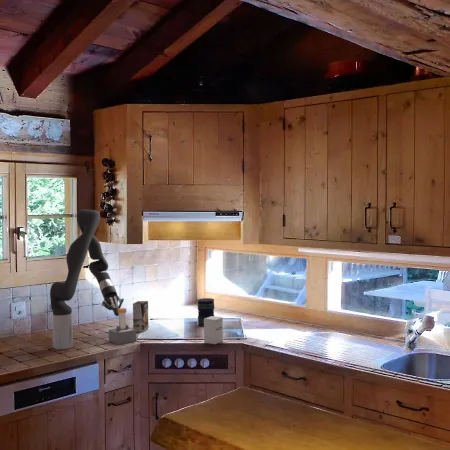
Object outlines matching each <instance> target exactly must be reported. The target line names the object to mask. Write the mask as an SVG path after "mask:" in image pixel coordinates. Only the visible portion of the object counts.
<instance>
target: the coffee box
mask: <svg viewBox="0 0 450 450" xmlns="http://www.w3.org/2000/svg"><path fill="white" fill-rule="evenodd" d="M149 325H150V324H149V301H148V300H140V301H139V300H137V301H136V302H133V303H132V329H135V330H136V333H144V332H146V331H147V330H149V329H148V328H149ZM145 330H146V331H145Z"/></svg>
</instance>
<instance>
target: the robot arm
mask: <svg viewBox="0 0 450 450" xmlns="http://www.w3.org/2000/svg"><path fill="white" fill-rule="evenodd" d="M100 214H101V213H100V212H99V211H98V210H95V209H85V208H84V209H83V208H82V209H80V210H79V211H77V215H76V221H77V224H78V227H79V229H80V231H81V235H80V236H78V237H77V238H76V239H75V240H74V241H73V242H72V243H71V244H70V246H69V248H68V252H67V254H66V265H67V275H66V278H65V281H56V282H54V283H52V284H51V286H50V290H49V299H50V308H51V310H52V325H53V327H52V329H51V335H52V341H51V342H52V348H53V349H54V350H56V351H58V350H68V349H71V348H73V346H74V340H73V338H74V337H73V309H72V307H71V306H69V305H68V304H67V303H66V302H69V301H71V300H72V299H73V297H74V296H75V293H76V289H77V285H78V282H79V281H78V280H79V276H80V274H81V270H82V267H83V265H84V262H85V259H86V256H87V254H89V255H88V256H89V258H90V259H91V260H92V262H90V263H89V264H88V270H89V272H90V273H91V274H92V275H93V277H94V278H95V279H96V280H97V283H98V287H99V290H100V293H101V294H102V298H103V300H102V302H101V306H102V307H104V308H105V309H107V310H108V311H113V315H115V316H116V317H119V313H118V309H120V308H122V305H123V303H124V301H125V298H123V297H122V298H120V296H118V293H117V289H116V287H115V285H114V283H113V281H112V280H111V277H110V274H109V273H108V272H107V271H108V269H109V263H108V261H107V259H106V258H105V257H104V254H103V250H102V246H101V243H100V240H98V238H97V237H96V236H95V233H96V232H97V229H98V227H99V224H100V220H101V215H100ZM118 303H119V304H118Z"/></svg>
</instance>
